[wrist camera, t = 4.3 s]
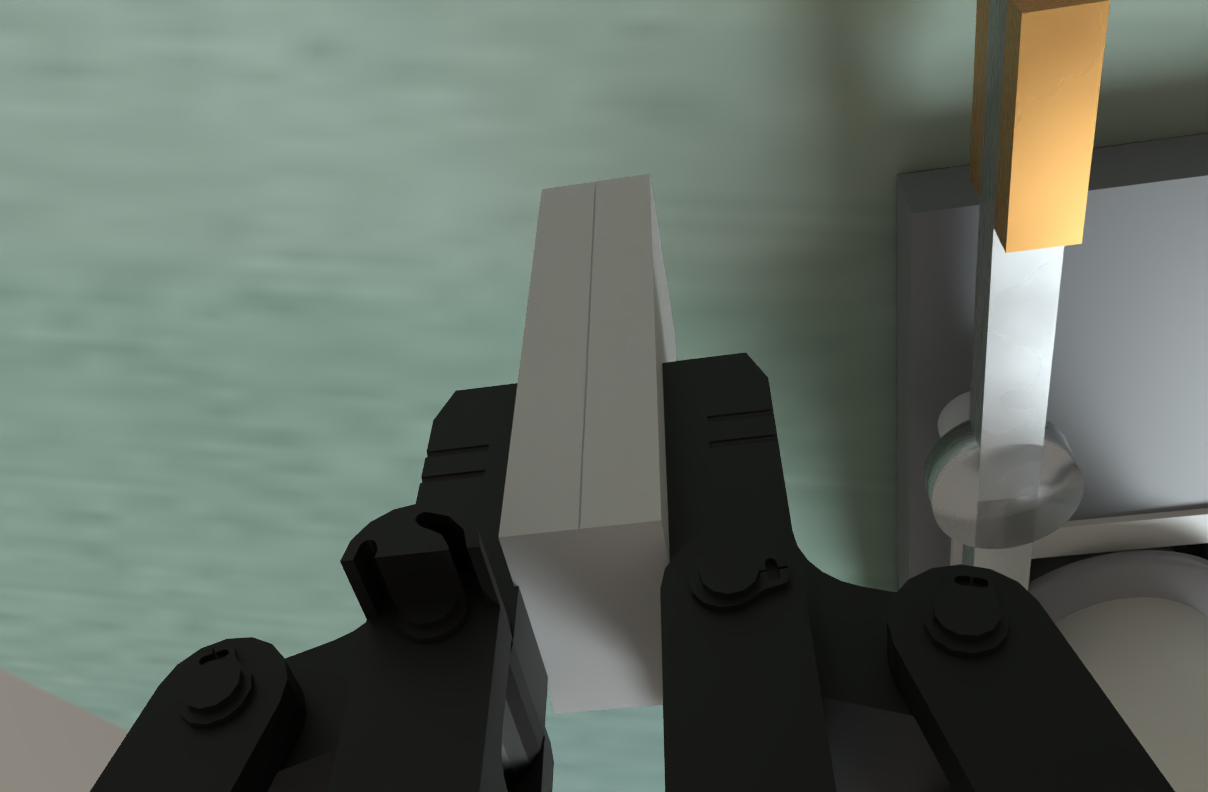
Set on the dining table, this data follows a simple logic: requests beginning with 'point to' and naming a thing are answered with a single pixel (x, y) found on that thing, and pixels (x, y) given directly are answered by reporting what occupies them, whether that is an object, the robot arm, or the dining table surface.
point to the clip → (1020, 276)
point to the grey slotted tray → (1073, 350)
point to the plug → (1140, 644)
